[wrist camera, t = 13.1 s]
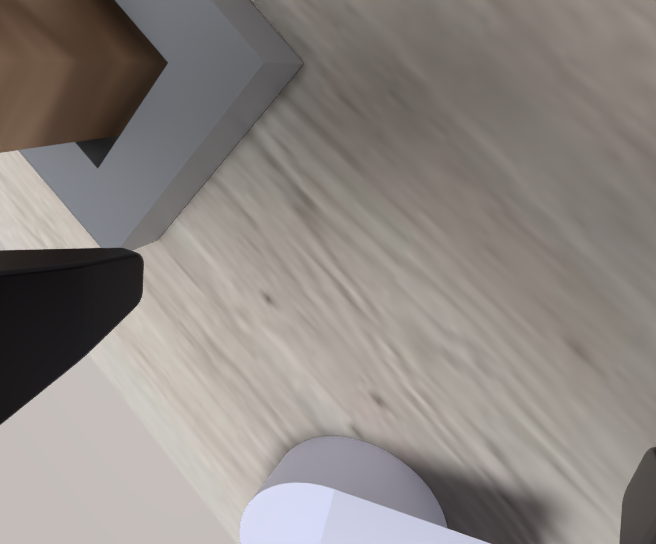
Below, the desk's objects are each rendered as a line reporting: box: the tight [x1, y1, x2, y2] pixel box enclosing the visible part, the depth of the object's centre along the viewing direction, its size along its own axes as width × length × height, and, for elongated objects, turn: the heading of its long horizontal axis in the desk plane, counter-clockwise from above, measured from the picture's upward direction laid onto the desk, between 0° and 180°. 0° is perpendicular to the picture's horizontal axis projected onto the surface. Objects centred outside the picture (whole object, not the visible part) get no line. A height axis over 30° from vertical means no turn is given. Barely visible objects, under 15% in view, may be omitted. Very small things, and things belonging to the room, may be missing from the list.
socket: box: [18, 0, 304, 251], centre depth 22 cm, size 11×11×3 cm
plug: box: [0, 0, 168, 153], centre depth 18 cm, size 4×4×12 cm
